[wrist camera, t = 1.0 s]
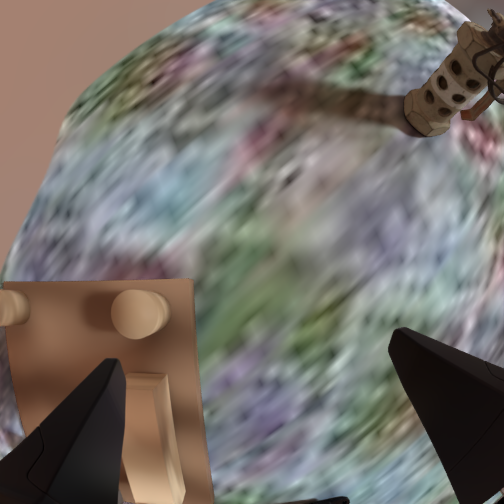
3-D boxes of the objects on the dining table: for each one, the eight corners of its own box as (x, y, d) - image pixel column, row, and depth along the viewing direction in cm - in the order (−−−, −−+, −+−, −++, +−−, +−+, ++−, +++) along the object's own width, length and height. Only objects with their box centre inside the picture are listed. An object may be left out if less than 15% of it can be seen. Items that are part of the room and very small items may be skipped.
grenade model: (404, 146, 23) (509, 43, 8) (401, 91, 24) (475, -10, 9) (456, 169, 23) (564, 97, 8) (450, 114, 24) (532, 36, 9)
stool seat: (214, 496, 18) (210, 538, 12) (50, 469, 17) (21, 493, 11) (193, 280, 20) (177, 274, 15) (17, 283, 19) (-25, 278, 14)
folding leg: (185, 491, 16) (176, 527, 11) (151, 488, 15) (136, 521, 11) (167, 374, 17) (148, 395, 13) (129, 372, 17) (102, 391, 13)
